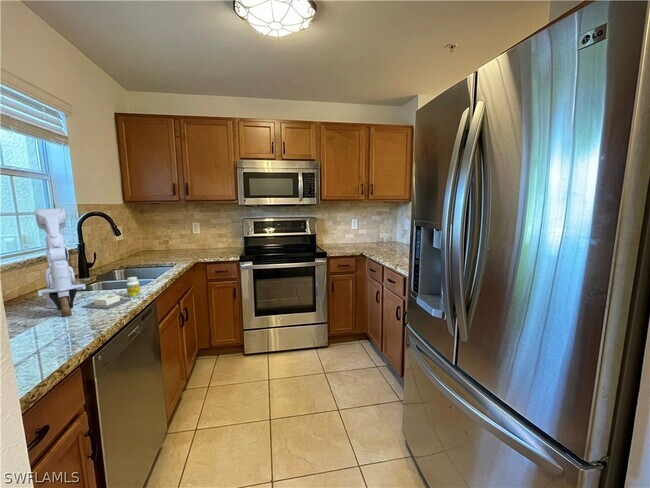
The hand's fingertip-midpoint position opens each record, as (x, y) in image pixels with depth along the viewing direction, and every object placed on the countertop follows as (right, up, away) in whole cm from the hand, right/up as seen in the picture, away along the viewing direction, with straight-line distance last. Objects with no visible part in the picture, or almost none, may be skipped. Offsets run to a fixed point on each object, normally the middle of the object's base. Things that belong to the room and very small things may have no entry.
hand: (65, 308), depth 123 cm
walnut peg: (0, -3, 0) cm, 3 cm away
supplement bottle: (+13, +1, +24) cm, 27 cm away
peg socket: (+7, -1, +14) cm, 16 cm away
